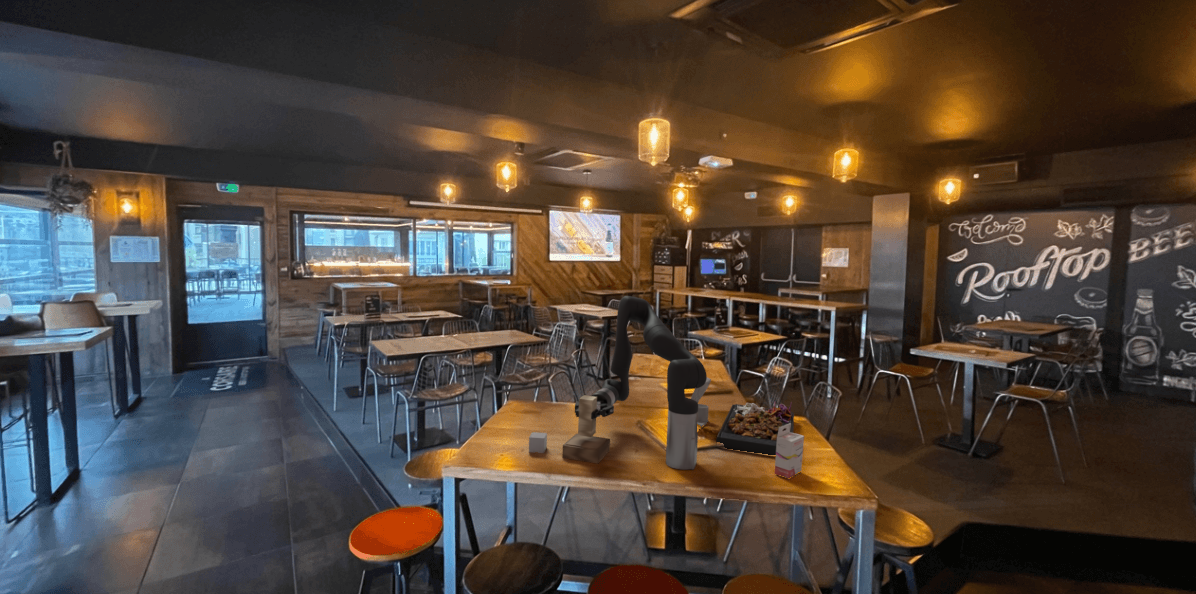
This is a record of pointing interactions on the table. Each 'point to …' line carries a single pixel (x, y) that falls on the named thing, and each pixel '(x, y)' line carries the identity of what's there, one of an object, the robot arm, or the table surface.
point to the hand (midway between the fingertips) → (584, 415)
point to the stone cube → (538, 442)
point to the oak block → (587, 416)
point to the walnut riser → (586, 448)
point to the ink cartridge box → (788, 452)
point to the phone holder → (701, 408)
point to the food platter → (754, 427)
